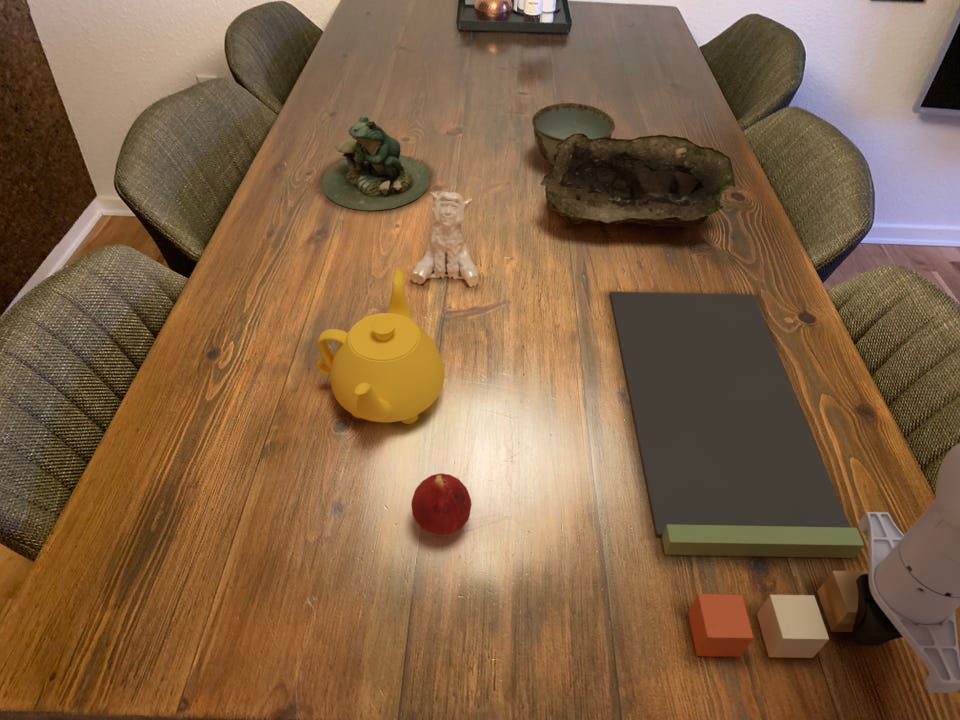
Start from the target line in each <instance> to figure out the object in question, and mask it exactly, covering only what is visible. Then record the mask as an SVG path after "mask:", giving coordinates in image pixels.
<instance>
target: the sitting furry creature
mask: <svg viewBox="0 0 960 720" xmlns="http://www.w3.org/2000/svg"><path fill="white" fill-rule="evenodd" d="M429 194H430V195H431V197H432V200H433V206H432V207H431V212H432V214H433V220H435V222H434V223H433V227H432V229H431V230H430V233H429V235H430V238H429V241H428V245H427V246H426V250H425V253H424V255H423V256H422V257H421V258H420V259H419V261H417V262H416V263H415V267H414V268H413V270H412V271H411V273H410V279H411V281H412V282H413V283H414V284H417V285H419V286H420V285H422V284H424V283H425V282H426V281H427V279H440V278H441V280H442V279H445V277H448V279H449V280H451V279H452V280H465V282H466V284H467V285H468V286H469V287H470V288H473V287H476V286H477V285H478V284H479V280H480V279H479V278H480V277H479V274H480V271H479V270H478V268H477V267H478V266H477V265H475V263H474V262H473V259H472V256H471V255H470V252H471V251H470V249H469V248H468V243H466V239H465V234H464V229H463V227H462V224H461V222H463V221H465V219H466V218H465V217H466V216H465V215H466V211H467V210H468V209H469V207H470V204H471V201H472V200H473V198H474V197H473V198H472V197H470V198H467V199H466V200H464V199H463V196H462V195H461V194H460V193H458V192H456V191H454V192H453V191H451V192H450V191H441V192H440V193H439V194H437V193H435V192H433V191H429ZM446 272H447V274H446Z"/></svg>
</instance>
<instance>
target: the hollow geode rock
mask: <svg viewBox="0 0 960 720" xmlns="http://www.w3.org/2000/svg"><path fill="white" fill-rule="evenodd" d="M556 148H558V153H557V154H556V159H555V163H554V167H553V166H552V169H551V170H550V171H549V172H548V173H547V174H546V175H544V177H543V178H542V180H541V182H540V183H539V184H540V185H541V186H542V188H543V187H545V188H544V192H545V199H546V200H547V204H548V207H549V210H551V211H553V212H554V213H556V214H557V215H559V216H560V217H563V218H564V219H565V221H566V223H567V224H568V226H569V227H571V226H576V225H580V224H583V223H585V222H589V223H593V222H602V223H605V224H610V223H611V224H616V225H620V224H622V223H636V224H637V225H641V224H642V225H649V226H650V227H665V228H666V227H667V228H693V229H696V228H699V227H700V226H701V225H703V224H704V223H705V221H706V220H707V219H708V218H709V216H712V215H715V214H716V213H717V212H718V211H720V210H723V209H724V206H723V205H721V199H722V197H723V196H722V192H724V191H726V190H728V189H729V187H736V186H737V185H736V181H735V176H734V169H733V163H732V159H731V158H730V157H729V156H728V155H725V153H724V152H722V151H720V150H718V149H717V150H716V149H714V147H707V146H700V145H698V144H696V143H694V142H692V141H691V140H690V139H688V138H686V137H680V136H677V135H676V136H675V135H674V136H673V135H671V136H669V135H666V134H657V135H653V134H651V135H647V136H637V137H636V138H630V139H629V138H627V139H625V138H616V137H614V138H613V137H611V138H607V137H604V138H596V139H589V138H588V137H587V136H586V135H585V134H583V133H579V134H573V135H571V136H570V137H567V138H566V139H564V140H563V141H562V142H560V143H559V144H557V146H556Z"/></svg>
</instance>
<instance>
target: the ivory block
mask: <svg viewBox="0 0 960 720" xmlns="http://www.w3.org/2000/svg"><path fill="white" fill-rule="evenodd" d="M818 605H819V604H818V603H817V599H816V597H815V595H813V594H812V595H811V594H769V596H768V597H767V598H766V600H765V601H764V603H763V605H762V606H761V607H760V609H759V610H758V612H757V614H756V617H757V621H758V624H759V628H760V631H761V634H762V635H761V636H762V638H763V641H764V646H765V649H766V653H767V656H768V658H786V659H787V658H789V659H790V658H792V659H793V658H797V659H798V658H799V659H813V658H815V656H816V655H817V654H818V653H819V652H820V650H822V648H823V647H824V646H825V645H826V643H828V641H829V640H830V638H829V634H828V630H827V628H826V625H825V622H824V619H823V616H822V614H821V610H820V608H819V606H818Z"/></svg>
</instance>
